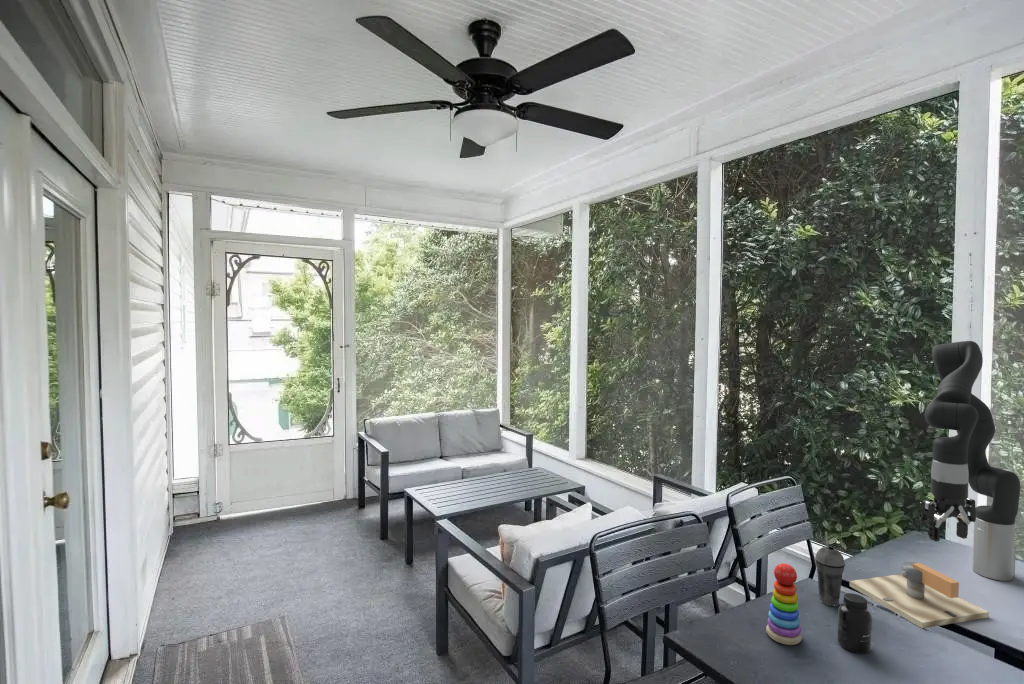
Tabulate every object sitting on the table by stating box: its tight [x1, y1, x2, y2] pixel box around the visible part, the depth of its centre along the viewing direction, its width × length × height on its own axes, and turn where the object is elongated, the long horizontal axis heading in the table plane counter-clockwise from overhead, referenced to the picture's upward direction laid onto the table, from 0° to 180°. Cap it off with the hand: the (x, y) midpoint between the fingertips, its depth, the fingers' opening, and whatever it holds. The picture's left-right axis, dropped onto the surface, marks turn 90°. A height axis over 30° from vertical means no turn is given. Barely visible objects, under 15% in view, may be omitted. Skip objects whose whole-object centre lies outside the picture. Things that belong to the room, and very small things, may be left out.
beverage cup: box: [814, 531, 846, 607], centre depth 147 cm, size 7×7×20 cm
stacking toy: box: [765, 562, 803, 646], centre depth 131 cm, size 8×8×19 cm
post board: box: [849, 573, 990, 629], centre depth 147 cm, size 22×22×6 cm
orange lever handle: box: [901, 561, 960, 598], centre depth 143 cm, size 14×8×4 cm, turn 9°
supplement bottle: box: [837, 592, 873, 655], centre depth 127 cm, size 7×7×12 cm
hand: (947, 538), depth 138 cm, fingers open, 8 cm apart
